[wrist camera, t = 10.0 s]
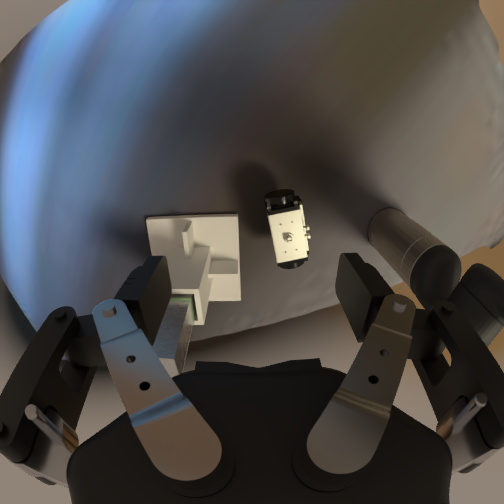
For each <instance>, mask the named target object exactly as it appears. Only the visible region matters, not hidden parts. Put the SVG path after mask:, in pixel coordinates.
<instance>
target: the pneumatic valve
mask: <svg viewBox="0 0 504 504" xmlns="http://www.w3.org/2000/svg"><path fill="white" fill-rule="evenodd" d="M264 201H265V206H266V211H267V216H268V220H269V225H270V230H271V235H272V240H273V245H274V250H275V255H276V260H277V265H278V266H280V267H281V268H284V269H293V268H297V267H299V266H301V265H302V264H303V263H304V261H308V257H307V254H309V248H308V241H307V237H308V239H310V238H311V237H310V233H308V234H306V229H307V230H309V225H306V226H305V220H304V213H303V207H302V201H301V199H300V198H299V196H295V195H294V191H293V190H290V189H282V190H276V191H272V192H270V193H268V194H266V195H265V200H264Z"/></svg>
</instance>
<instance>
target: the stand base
mask: <svg viewBox="0 0 504 504" xmlns="http://www.w3.org/2000/svg"><path fill="white" fill-rule="evenodd" d="M146 223H147V230H148V236H149V242H150V248H151V253H152V256H166V258H167V263H168V269H169V274H170V280H171V286H172V294H194V298H195V304H196V314H195V322H194V324H193V325H204V322H205V316H206V311H207V306H208V301H241V289H240V261H239V229H238V214H209V215H181V216H159V217H148V218H147V219H146Z"/></svg>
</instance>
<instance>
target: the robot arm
mask: <svg viewBox="0 0 504 504" xmlns="http://www.w3.org/2000/svg"><path fill="white" fill-rule="evenodd" d="M368 238H369V241H370V243H371V244H372V245H373V247H374V248H375V249H376V250H377V251H378V252H379V253H380V254H381V256H382V257H383V258H384V259H385V260H386V261H387V262H388V263H389V265H390V266H391V267H392V268H393V269H394V270H395V271H396V273H397V274H398V275H399V276H400V277H401V278H402V280H403V281H404V282H405V283H406V284H407V286H409V288H410V289H411V290H412V292H413V293H414V294H415V295H416V297H417V299H418V300H419V302H420V303H421V304H422V306H423V307H424V308H425V310H424V309H417V308H416V306H415V304H414V302H413V301H412V300H411V299H409V298H408V297H406V296H403V295H399V294H395V293H394V292H393V290H392V289H391V288H390V286H389V285H388V284H387V282H386V281H385V280H384V279H383V277H382V276H381V275H380V273H379V272H378V271H377V269H376V268H375V267H373V266H372V265H370V264H368V263H365V262H364V261H363V260H362V258H361V257H360V256H359V254H358V253H342V254H341V255H340V259H339V265H338V271H337V277H336V285H335V288H336V294H337V297H338V299H339V301H340V303H341V305H342V308H343V310H344V312H345V314H346V316H347V318H348V320H349V323H350V325H351V327H352V330H353V332H354V334H355V336H356V339H357V341H358V343H359V342H363V344H362V346H361V348H360V350H359V352H358V354H357V356H356V358H355V360H354V362H353V364H352V365H351V368H350V369H349V371H348V373H347V374H345V373H343V372H341V371H338V370H334V369H331V368H326V367H322V366H321V362H320V359H319V358H317V359H305V360H290V361H286V362H282V363H278V364H274V365H270V366H266V367H261V368H255V367H249V366H244V365H239V364H233V363H229V362H201V361H196V366H195V370H193V371H188V372H185V373H181V374H179V375H176V376H174V377H172V378H171V377H170V375H169V374H168V372H167V371H166V369H165V368H164V366H163V364H162V363H161V361H160V360H159V358H158V357H157V355H156V353H155V352H154V350H153V348H152V347H151V346H153V345H154V342H155V339H156V336H157V333H158V331H159V328H160V325H161V322H162V320H163V317H164V314H165V312H166V309H167V306H168V304H169V301H170V299H171V294H172V286H171V280H170V274H169V269H168V263H167V258H166V256H149V257H148V258H147V260H146V261H145V263H144V264H143V266H139V267H137V268H136V269H134V270H133V271H132V272H131V273H130V275H129V276H128V277H127V279H126V280H125V282H124V285H122V286H121V288H120V289H119V291H118V293H117V294H116V296H115V297H114V299H110V300H106V301H104V302H102V303H100V304H98V305H97V306H96V307H95V308H94V310H93V314H91V315H85V316H78V317H77V314H76V312H75V310H74V309H73V308H72V307H69V306H65V307H60V308H58V309H56V310H54V311H53V312H51V313H50V314H49V316H48V317H47V319H46V320H45V321H44V323H43V324H42V326H41V327H40V329H39V330H38V332H37V333H36V335H35V336H34V338H33V339H32V341H31V342H30V344H29V346H28V347H27V349H26V351H25V352H24V354H23V355H22V357H21V359H20V360H19V362H18V364H17V365H16V367H15V369H14V371H13V372H12V374H11V376H10V378H9V380H8V382H7V383H6V385H5V387H4V389H3V391H2V393H1V395H0V453H1V454H3V455H4V456H5V457H6V458H7V459H8V460H9V461H10V462H12V463H13V464H15V465H16V466H17V467H19V468H20V469H22V470H23V471H25V472H26V473H28V474H29V475H31V476H33V477H35V478H37V479H38V480H40V481H42V482H43V483H45V484H48V485H55V484H59V485H62V486H64V487H67V488H69V491H70V495H71V500H72V504H449V487H450V479H451V475H452V474H454V473H456V472H460V473H468V472H470V471H472V470H473V469H475V468H476V467H478V466H479V465H480V464H482V463H483V462H485V461H486V460H487V459H489V458H490V457H491V456H493V455H494V454H495V453H496V452H498V451H499V450H500V449H501V448H503V447H504V373H503V371H502V369H501V368H500V366H499V365H498V363H497V361H496V360H495V359H494V357H493V355H492V354H491V352H490V351H489V349H488V348H487V347H488V345H489V344H490V343H491V342H492V341H493V340H494V338H495V337H496V336H497V334H498V333H499V332H500V331H501V329H502V328H503V327H504V280H503V279H502V278H501V277H500V276H499V275H498V274H497V273H495V272H494V271H493V270H491V269H490V268H488V267H487V266H485V265H483V264H479V263H476V264H473V265H472V266H471V267H470V268H469V269H468V270H467V272H466V273H465V274H464V276H463V277H462V279H461V280H460V277H461V261H460V259H459V257H458V255H457V254H456V253H455V252H454V251H453V250H452V249H450V248H449V247H448V246H446V245H445V244H444V243H443V242H441V241H440V240H439V239H437V238H436V237H435V236H433V235H432V234H431V233H430V232H429V231H427V230H426V229H425V228H423V227H422V226H420V225H419V224H418V223H416V222H415V221H413V220H412V219H410V218H409V217H408V216H406V215H404V214H403V213H401V212H400V211H398V210H396V209H393V208H387V209H384V210H381V211H380V212H378V213H377V214H376V215H375V216H374V217H373V219H372V220H371V222H370V225H369V228H368ZM459 280H460V281H461V282H459ZM445 347H446V348H447V349H448V351H449V352H450V354H451V359H452V361H451V366H449V364H448V363H447V361H446V359H445V357H444V356H443V354H442V352H443V350H444V349H445ZM63 355H65V357H66V359H67V360H66V363H65V365H64V367H63V369H62V371H61V373H60V371H59V364H60V361H61V359H62V357H63ZM407 359H411V360H412V362H413V364H414V366H415V368H416V370H417V373H418V375H419V377H420V379H421V381H422V384H423V386H424V388H425V391H426V393H427V396H428V398H429V400H430V403H431V405H432V408H433V410H434V413H435V415H436V418H437V421H438V424H437V426H436V432H434V431H433V430H431V429H430V428H428V427H426V426H425V425H423V424H422V423H420V422H418V421H417V420H415V419H414V418H412V417H411V416H409V415H407V414H406V413H404V412H403V411H401V410H400V409H398V408H397V407H395V406H394V405H392V404H393V401H394V399H395V396H396V392H397V390H398V387H399V384H400V380H401V377H402V374H403V371H404V367H405V364H406V360H407ZM100 365H108V368H109V371H110V373H111V376H112V378H113V381H114V383H115V386H116V388H117V391H118V393H119V395H120V397H121V399H122V402H123V404H124V406H125V409H126V412H125V413H123V414H122V415H121V416H119V417H118V418H117V419H115V420H114V421H113V422H111V423H110V424H109V425H107V426H106V427H104V428H103V429H102V430H100V431H99V432H97V433H96V434H95V435H93V436H92V437H90V438H89V439H87V440H86V441H85V442H83V443H82V444H80V445H79V440H78V436H77V434H76V432H75V430H76V427H77V423H78V420H79V417H80V414H81V411H82V408H83V405H84V402H85V400H86V397H87V393H88V391H89V388H90V385H91V383H92V380H93V378H94V375H95V373H96V370H97V367H98V366H100ZM78 445H79V446H78Z"/></svg>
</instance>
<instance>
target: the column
mask: <svg viewBox="0 0 504 504" xmlns="http://www.w3.org/2000/svg"><path fill="white" fill-rule="evenodd" d="M195 314H196V304H195V298H194V294H171V299H170V301H169V304H168V306H167V309H166V312H165V314H164V317H163V320H162V322H161V325H160V328H159V331H158V333H157V336H156V339H155V342H154V345H153V346H151V347H152V348H153V350H154V352H155V353H156V355H157V357H158V358H159V360H160V361H161V363H162V364H163V366H164V368H165V369H166V371H167V372H168V374H169V375H170V377H171V378H172V377H174V376H176V375H179V374H181V373H182V372H183V368H184V363H185V358H186V354H187V349H188V345H189V340H190V336H191V331H192V327H193V324H194V322H195Z"/></svg>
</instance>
